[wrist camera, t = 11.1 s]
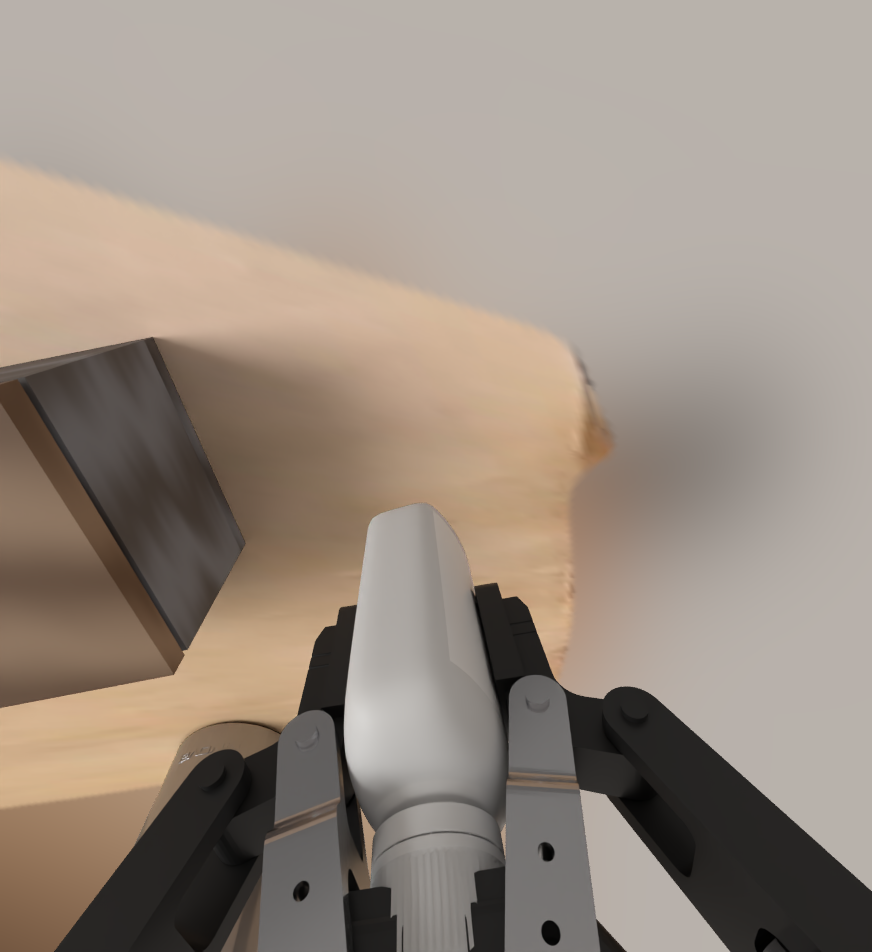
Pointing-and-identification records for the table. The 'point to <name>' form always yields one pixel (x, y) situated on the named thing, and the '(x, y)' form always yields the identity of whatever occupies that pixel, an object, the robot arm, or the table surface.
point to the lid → (64, 577)
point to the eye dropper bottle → (425, 728)
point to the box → (140, 471)
